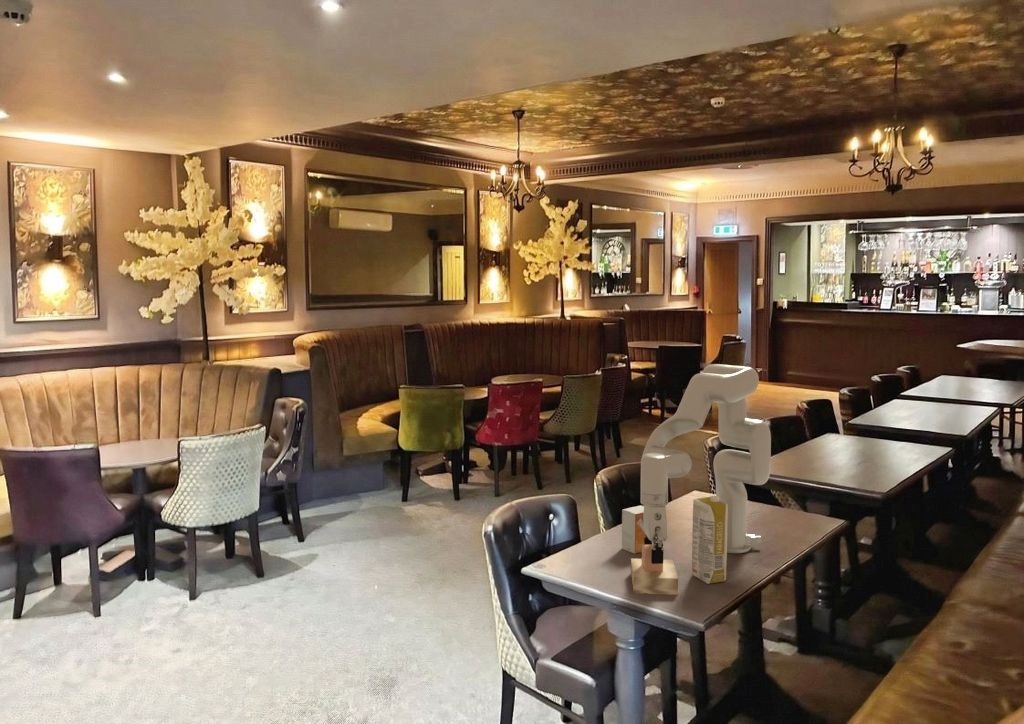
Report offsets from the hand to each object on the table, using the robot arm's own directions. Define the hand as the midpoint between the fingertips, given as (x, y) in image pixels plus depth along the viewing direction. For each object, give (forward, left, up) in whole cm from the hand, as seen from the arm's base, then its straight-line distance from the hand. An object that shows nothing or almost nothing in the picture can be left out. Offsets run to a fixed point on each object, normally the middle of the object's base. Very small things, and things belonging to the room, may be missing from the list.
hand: (653, 556), depth 214 cm
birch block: (0, 0, -8) cm, 8 cm away
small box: (-1, -28, -8) cm, 29 cm away
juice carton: (-17, -3, -8) cm, 19 cm away
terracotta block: (0, 0, -3) cm, 3 cm away
